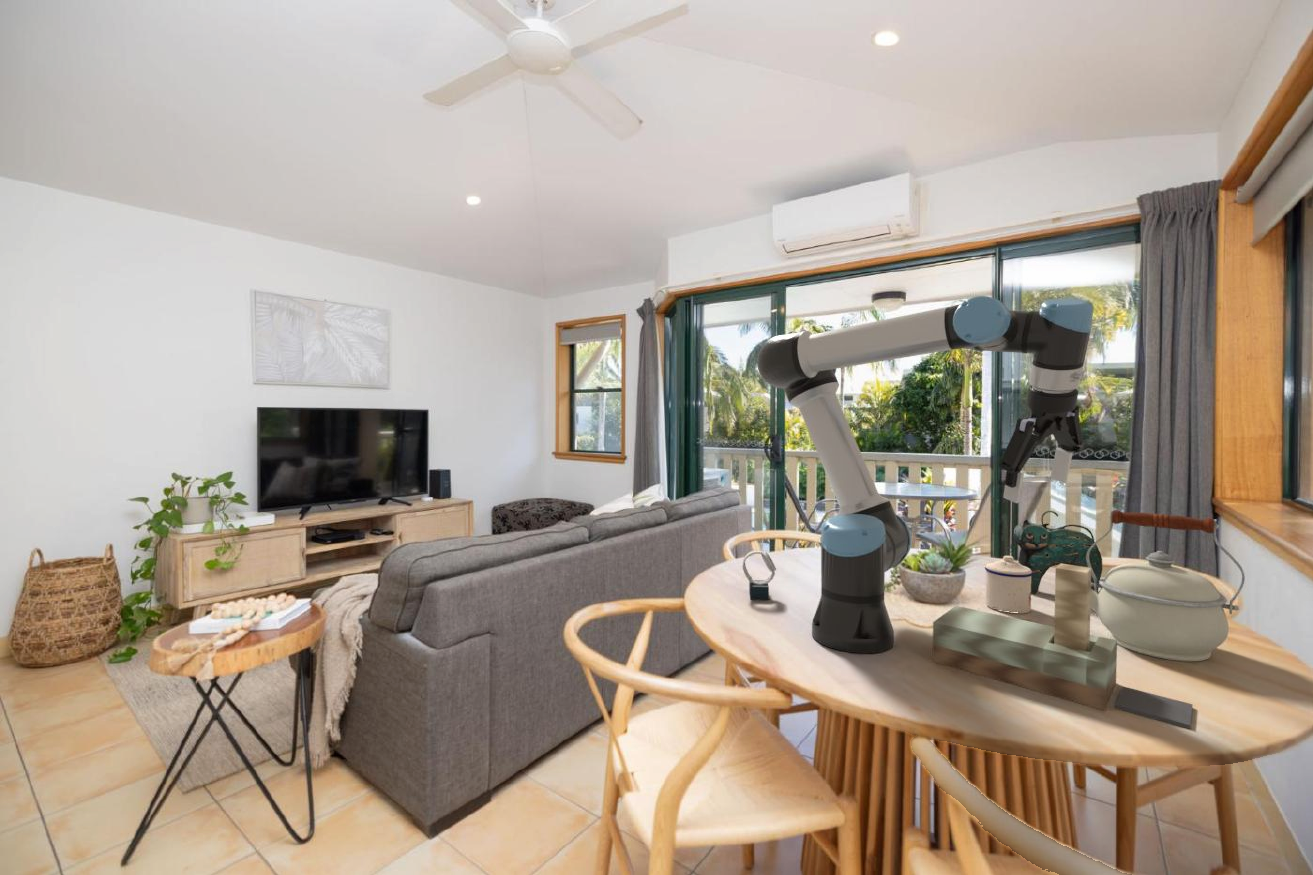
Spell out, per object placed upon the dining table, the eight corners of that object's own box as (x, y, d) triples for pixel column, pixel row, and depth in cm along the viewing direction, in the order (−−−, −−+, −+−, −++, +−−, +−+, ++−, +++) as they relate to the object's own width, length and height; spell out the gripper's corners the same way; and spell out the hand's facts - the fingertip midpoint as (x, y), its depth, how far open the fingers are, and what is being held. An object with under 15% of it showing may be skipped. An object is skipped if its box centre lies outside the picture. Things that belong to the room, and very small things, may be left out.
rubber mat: (1115, 708, 83) (1115, 704, 83) (1122, 689, 89) (1122, 686, 89) (1190, 728, 78) (1190, 725, 78) (1192, 707, 83) (1192, 704, 83)
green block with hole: (932, 661, 100) (933, 622, 99) (955, 641, 108) (955, 605, 108) (1105, 710, 83) (1106, 663, 82) (1116, 683, 91) (1117, 640, 91)
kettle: (1240, 648, 104) (1244, 514, 103) (1243, 681, 91) (1248, 528, 90) (1073, 615, 122) (1076, 500, 121) (1056, 639, 109) (1059, 511, 108)
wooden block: (1053, 667, 90) (1055, 568, 90) (1058, 659, 93) (1060, 563, 93) (1084, 675, 87) (1086, 572, 87) (1089, 666, 90) (1091, 567, 90)
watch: (777, 600, 133) (777, 554, 133) (742, 599, 134) (742, 553, 134) (775, 593, 139) (775, 548, 138) (742, 592, 140) (742, 548, 139)
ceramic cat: (1022, 594, 136) (1023, 512, 135) (1006, 586, 143) (1007, 508, 142) (1106, 595, 135) (1108, 512, 135) (1087, 587, 142) (1088, 508, 141)
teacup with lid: (1041, 615, 122) (1042, 561, 122) (997, 614, 123) (998, 561, 122) (1010, 597, 134) (1011, 548, 134) (970, 596, 135) (971, 548, 134)
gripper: (1025, 408, 95) (1008, 517, 103) (1120, 376, 103) (1097, 479, 111) (985, 397, 101) (972, 500, 109) (1077, 367, 109) (1058, 465, 118)
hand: (1035, 490), depth 110 cm, fingers open, 13 cm apart
